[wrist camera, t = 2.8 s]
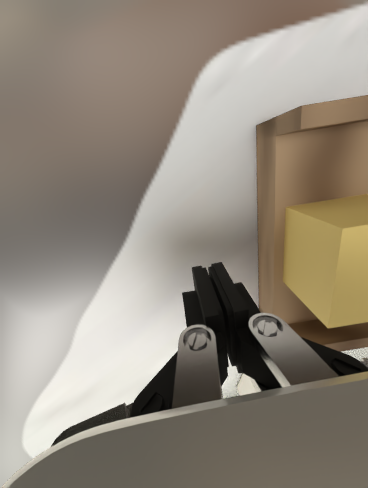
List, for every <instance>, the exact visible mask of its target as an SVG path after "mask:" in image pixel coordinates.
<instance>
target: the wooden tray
mask: <svg viewBox="0 0 368 488" xmlns="http://www.w3.org/2000/svg"><path fill="white" fill-rule="evenodd" d="M256 134H257V204H258V273H259V310H260V312H261V313H270V314H274V315H276V316H278V317H280V318H281V319H282V320H284V321H285V322H286V323H287V324H288V325H289V326H290V327H291V328H292V329H293V330H294V331H295V332H296V333H297V334H298V335H299V336H300V337H303V338H305V339H308V340H310V341H313V342H316V343H318V344H321V345H323V346H326V347H329V348H331V349H334V350H337V351H339V352H340V351H346V350H352V349H358V348H364V347H368V322H365V323H359V324H353V325H346V326H340V327H334V328H327V327H326V326H325V325H324V324H323V323H322V322H321V321H320V320H319V319H318V318H317V317H316V316H315V315H314V314H313V312H312V311H311V310H310V309H309V308H308V307H307V306H306V305H305V304H304V303H303V302H302V301H301V300H300V299H299V298H298V297H297V296H296V295H295V294H294V293H293V292H292V291H291V289H290V288H289V287H288V286H287V285H286V284H285V283H284V282H283V264H284V237H285V210H286V207H289V206H295V205H302V204H308V203H314V202H320V201H326V200H333V199H339V198H345V197H351V196H357V195H363V194H368V95H366V96H360V97H353V98H347V99H341V100H334V101H328V102H322V103H315V104H309V105H303V106H300V107H298V108H295V109H293V110H291V111H288V112H286V113H284V114H282V115H279V116H277V117H275V118H272V119H270V120H268V121H266V122H263V123H261V124H259V125H256Z"/></svg>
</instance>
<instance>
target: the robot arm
mask: <svg viewBox="0 0 368 488" xmlns="http://www.w3.org/2000/svg"><path fill="white" fill-rule="evenodd" d="M208 270H209V275H208V272H207V270H206V268H202V266H196V267H192V273H193V280H194V286H195V291H189V292H184V293H182V295H183V302H184V309H185V317H186V324H187V328H186V329H185V330H184V331H183V332H182V333H181V335H180V338H179V344H178V351H177V352H176V354H175V355H174V356H173V357H172V358H171V359H170V360H169V361H168V362H167V364H166V365H165V366H164V367H163V368H162V369H161V370H160V371H159V372H158V374H157V375H156V376H155V377H154V378H153V379H152V380H151V381H150V382H149V384H148V385H147V386H146V387H145V388H144V389H143V390H142V391H141V392H140V394H139V395H138V396H137V398H136V399H135V400H134V403H131V404H129V405H127V406H126V404H125V403H123V404H121V405H119V406H117V407H114V408H112V409H110V410H107V411H105V412H103V413H101V414H98V415H96V416H94V417H92V418H89V419H87V420H85V421H83V422H80V423H78V424H76V425H73V426H71V427H70V428H68V429H66V430H65V431H63V432H62V433H61V434H60V435H59V436H58V437H57V438H56V439H55V441H54V442H53V444H52V445H51V447H50V448H49V449H47V450H46V451H44V452H42V453H41V454H39V455H38V456H36V457H35V458H34V459H32V460H31V461H30V462H28V463H27V464H26V465H24V466H23V467H22V468H21V469H19V470H18V471H17V472H16V473H15V474H14V475H13V476H12V477H11V478H10V479H9V480H8V481H7V482H6V483H5V484H4V485H3V486H2V487H1V488H368V358H362V360H361V361H358V360H357V359H355V358H353V357H351V356H349V355H347V354H344V353H342V352H339V351H337V350H334V349H331V348H329V347H326V346H323V345H321V344H318V343H316V342H313V341H310V340H308V339H305V338H303V337H300V336H299V335H298V334H297V333H296V332H295V331H294V330H293V329H292V328H291V327H290V326H289V325H288V324H287V323H286V322H285V321H284V320H282V319H281V318H280V317H278V316H276V315H274V314H270V313H261V312H260V310H259V309H258V307H257V306H256V304H255V303H254V301H253V300H252V298H251V296H250V295H249V293H248V292H247V290H246V289H245V287H244V285H243V284H242V283H241V282H240V283H235V284H234V283H233V281H232V280H231V278H230V276H229V274H228V273H227V271H226V269H225V267H224V266H223V264H222V262H219V263H214V264H212V265H211V267H208ZM227 353H228V354H227ZM228 356H229V359H230V362H231V365H232V366H236V367H237V370H238V373H244V374H245V375H247V376H249V377H251V382H252V385H253V387H254V388H255V390H256V393H251V394H246V395H240V396H235V397H230V398H225V399H223V398H222V388H221V386H222V385H223V383H224V381H225V380H226V378H227V376H228V373H227V367H229V365H228Z"/></svg>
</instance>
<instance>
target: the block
mask: <svg viewBox="0 0 368 488" xmlns="http://www.w3.org/2000/svg"><path fill="white" fill-rule="evenodd" d="M283 282H284V283H285V284H286V285H287V286H288V287H289V288H290V289H291V291H292V292H293V293H294V294H295V295H296V296H297V297H298V298H299V299H300V300H301V301H302V302H303V303H304V304H305V305H306V306H307V307H308V308H309V309H310V310H311V311H312V312H313V314H314V315H315V316H316V317H317V318H318V319H319V320H320V321H321V322H322V323H323V324H324V325H325V326H326V327H327V328H334V327H340V326H346V325H353V324H359V323H365V322H368V194H363V195H357V196H351V197H345V198H339V199H333V200H326V201H320V202H314V203H308V204H302V205H295V206H289V207H286V210H285V237H284V264H283Z"/></svg>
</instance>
